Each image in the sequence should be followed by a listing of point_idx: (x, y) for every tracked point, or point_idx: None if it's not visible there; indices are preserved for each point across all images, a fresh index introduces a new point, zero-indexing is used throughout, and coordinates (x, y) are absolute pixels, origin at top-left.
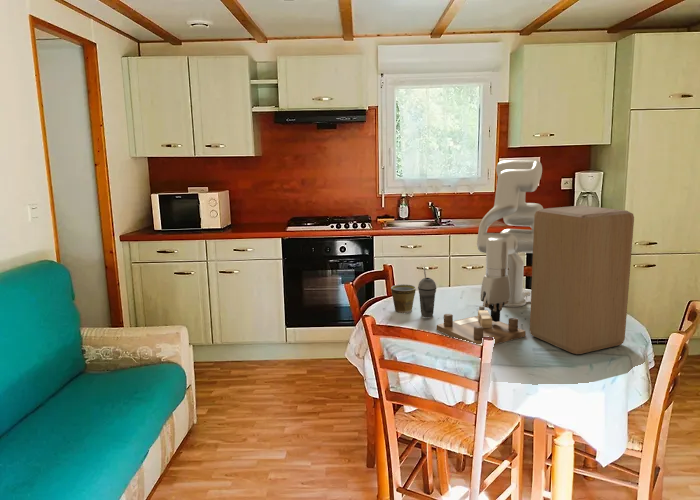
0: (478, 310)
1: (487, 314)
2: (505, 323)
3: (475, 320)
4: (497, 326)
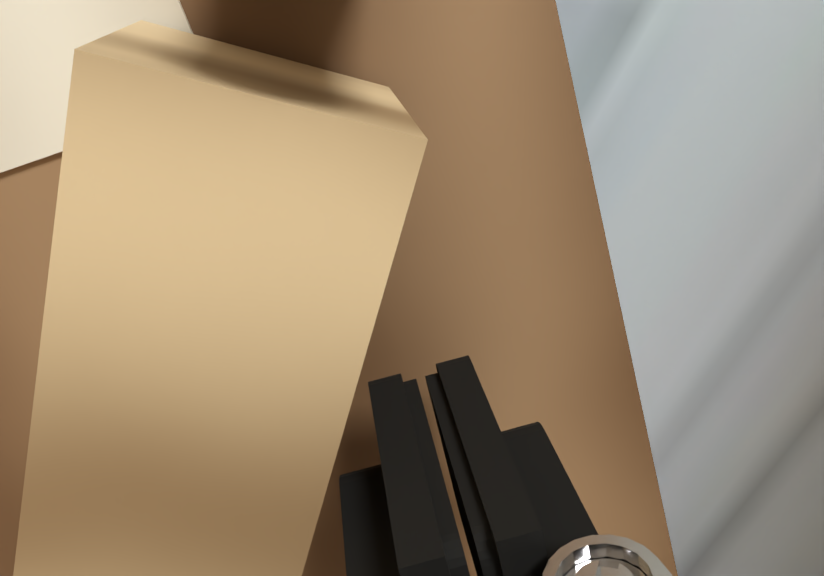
0: (85, 79)
1: (252, 522)
2: (636, 394)
3: (52, 84)
4: None
